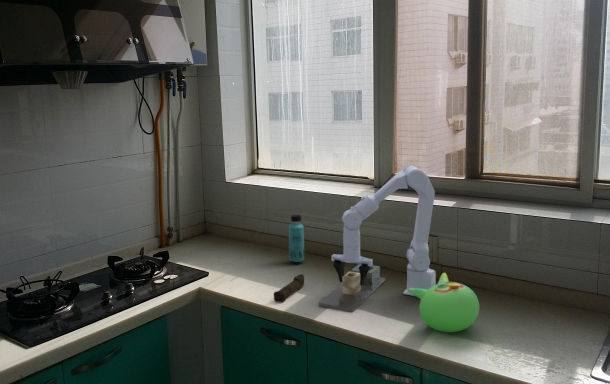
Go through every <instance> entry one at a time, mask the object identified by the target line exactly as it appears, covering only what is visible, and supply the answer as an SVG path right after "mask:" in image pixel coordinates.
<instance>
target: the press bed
mask: <svg viewBox="0 0 610 384" xmlns="http://www.w3.org/2000/svg"><path fill="white" fill-rule="evenodd" d="M360 266H361V264H356V266H354V267H353V268H352V269H351V271H350V272H357V273H360V271H359V267H360ZM384 281H385V282H386V278H385V277H381V266H379V265H374V264H373V265H372V266H371V270H370V271H368V272H367V275H366V278H365V283H364V285H361V290H360V291H359V292H358V293H357V294H355V295H349V294H343V283H341V284H340V285H339V286H338V287H336V288H335V289H334V290H332V292H330V293H329V294H328V295H326V297H324V298H323V299H321V300H320V301H319V302H318V307H321V308H328V309H333V310H338V311H345V312H349V313H353V312H354V311H356V310H357V309H358V307H360V306H361V305H362V304H363V303H364V302H365V301H366V300H367V299H368V298H369V297H370V296H371V295H372V294H373V293H374V292H375V291H377V289H379V287H381V286H382V285H383V284H384V283H385V282H384ZM383 282H384V283H383ZM382 283H383V284H382ZM381 284H382V285H381ZM380 285H381V286H380Z"/></svg>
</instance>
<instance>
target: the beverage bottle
mask: <svg viewBox="0 0 610 384" xmlns="http://www.w3.org/2000/svg"><path fill="white" fill-rule="evenodd" d="M290 218H291V219H290V221H291V223H290V224H289V225H288V259H289V261H291V262H295V263H297V262H302V261H304V260H305V230H304V229H305V228H304V227H305V225H304V224H302V222H301V221H302V216H301V214H292V215H291V217H290Z"/></svg>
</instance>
